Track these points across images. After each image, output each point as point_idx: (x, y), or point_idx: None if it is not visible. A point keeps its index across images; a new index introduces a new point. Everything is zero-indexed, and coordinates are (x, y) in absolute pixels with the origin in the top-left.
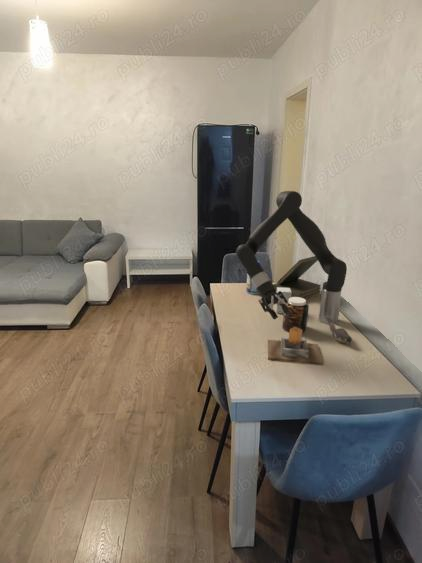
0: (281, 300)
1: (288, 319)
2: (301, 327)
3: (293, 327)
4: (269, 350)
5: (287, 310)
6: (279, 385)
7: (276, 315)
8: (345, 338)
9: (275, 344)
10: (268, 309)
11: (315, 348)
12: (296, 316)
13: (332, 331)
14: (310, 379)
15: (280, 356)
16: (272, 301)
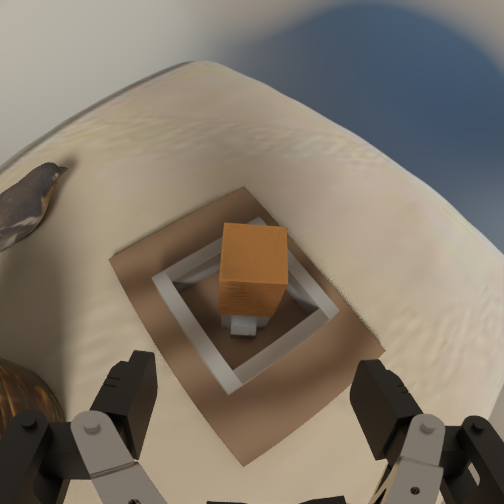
0: (135, 474)
1: None
2: (23, 370)
3: (240, 279)
4: (335, 389)
5: (148, 366)
6: (442, 235)
7: (379, 368)
8: (52, 174)
9: (259, 408)
10: (478, 417)
11: (153, 248)
12: (1, 387)
13: (6, 237)
14: (352, 188)
15: (339, 320)
16: (407, 502)
